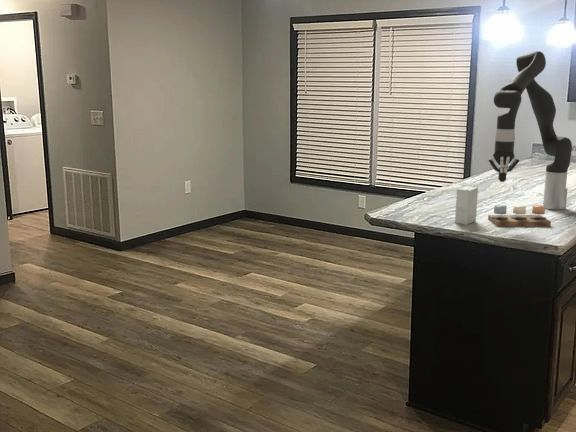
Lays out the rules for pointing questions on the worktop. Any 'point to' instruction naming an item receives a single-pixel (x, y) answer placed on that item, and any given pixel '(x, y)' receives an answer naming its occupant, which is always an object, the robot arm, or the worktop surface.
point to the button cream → (519, 209)
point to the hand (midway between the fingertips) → (501, 181)
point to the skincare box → (466, 205)
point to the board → (519, 220)
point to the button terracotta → (538, 209)
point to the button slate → (500, 209)
